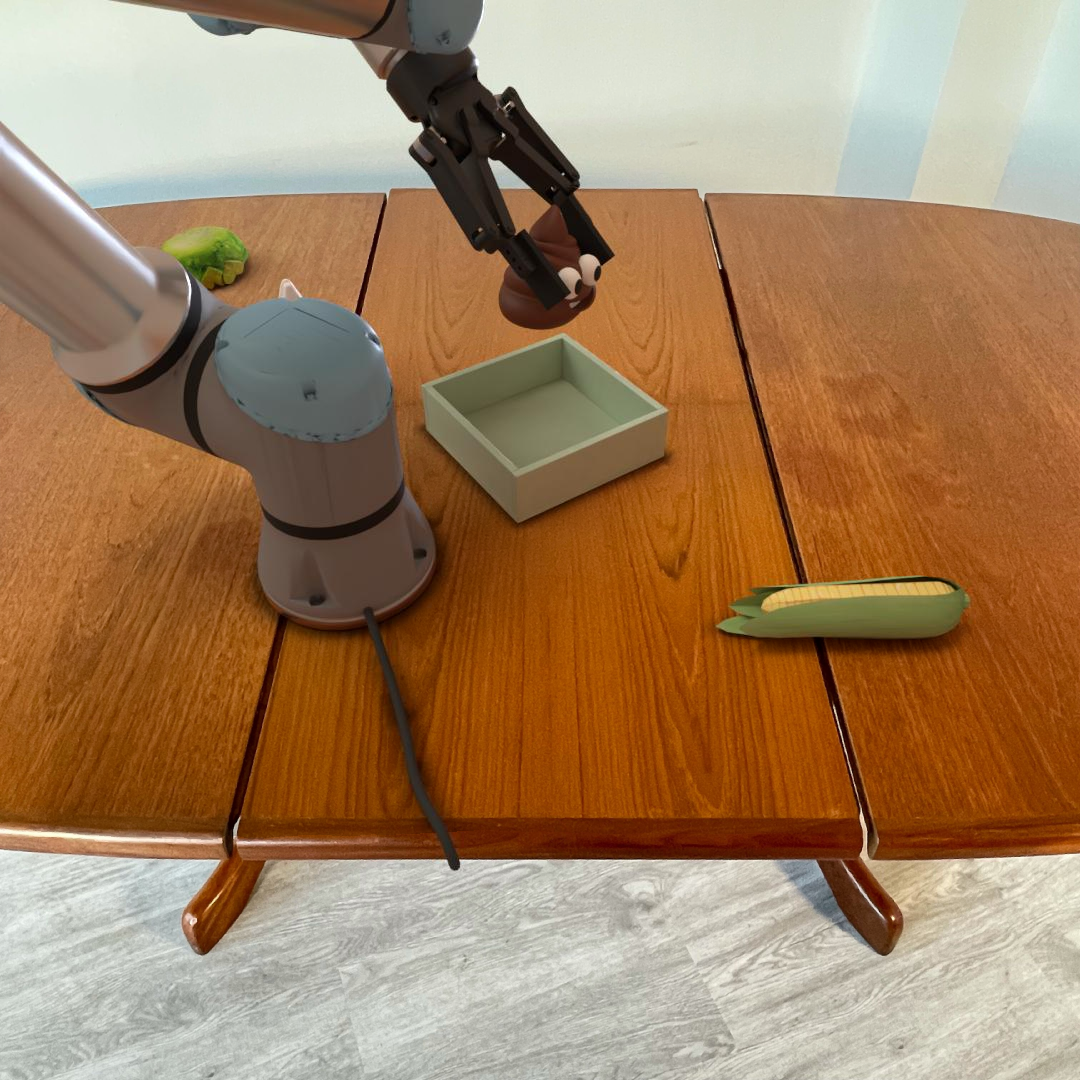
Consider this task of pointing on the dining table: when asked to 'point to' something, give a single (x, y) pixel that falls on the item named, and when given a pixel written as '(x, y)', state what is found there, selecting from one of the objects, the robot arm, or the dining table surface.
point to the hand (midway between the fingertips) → (581, 282)
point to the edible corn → (852, 609)
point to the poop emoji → (567, 263)
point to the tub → (544, 424)
